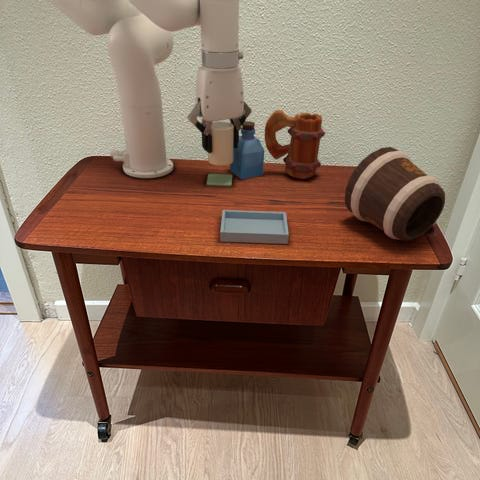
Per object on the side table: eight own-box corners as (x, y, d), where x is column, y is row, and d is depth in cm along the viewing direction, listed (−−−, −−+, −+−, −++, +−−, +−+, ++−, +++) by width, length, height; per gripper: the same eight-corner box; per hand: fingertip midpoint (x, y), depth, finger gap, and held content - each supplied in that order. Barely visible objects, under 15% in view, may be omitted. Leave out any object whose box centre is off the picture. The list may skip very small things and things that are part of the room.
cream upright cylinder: (207, 165, 99) (206, 129, 93) (209, 155, 103) (208, 121, 98) (232, 166, 99) (233, 130, 93) (233, 156, 103) (234, 121, 98)
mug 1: (318, 170, 111) (328, 108, 101) (319, 183, 105) (330, 118, 95) (262, 166, 112) (266, 104, 102) (260, 179, 106) (265, 114, 96)
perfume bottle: (241, 179, 105) (242, 128, 97) (230, 170, 109) (230, 121, 101) (262, 175, 107) (266, 125, 100) (251, 166, 112) (253, 118, 104)
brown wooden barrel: (328, 201, 86) (378, 242, 77) (376, 132, 80) (436, 167, 71) (377, 225, 100) (423, 261, 91) (420, 167, 93) (475, 200, 85)
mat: (206, 185, 102) (206, 183, 102) (208, 175, 106) (208, 173, 106) (231, 186, 102) (231, 184, 102) (232, 176, 106) (232, 174, 106)
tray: (220, 241, 83) (220, 231, 81) (222, 218, 90) (222, 209, 88) (287, 244, 83) (288, 234, 81) (284, 221, 90) (285, 212, 88)
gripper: (247, 54, 93) (244, 138, 105) (173, 59, 86) (180, 149, 98) (265, 60, 88) (260, 148, 100) (188, 66, 82) (193, 160, 93)
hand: (220, 148), depth 99 cm, fingers closed on cream upright cylinder, 6 cm apart
